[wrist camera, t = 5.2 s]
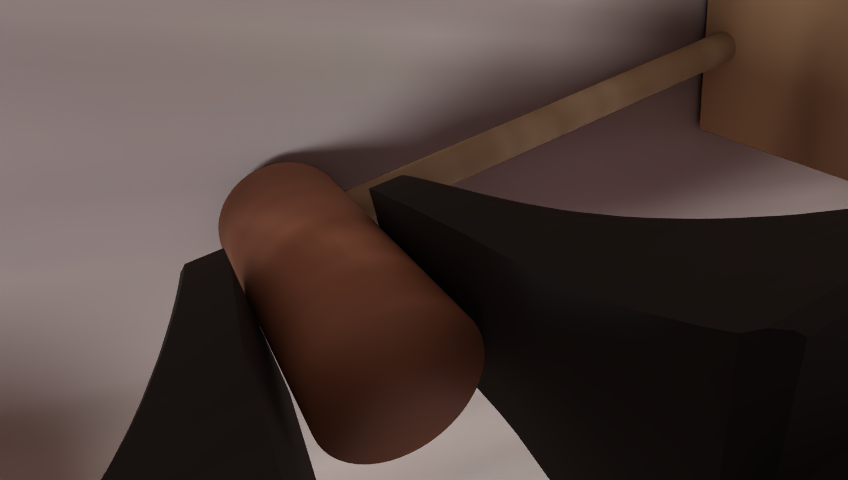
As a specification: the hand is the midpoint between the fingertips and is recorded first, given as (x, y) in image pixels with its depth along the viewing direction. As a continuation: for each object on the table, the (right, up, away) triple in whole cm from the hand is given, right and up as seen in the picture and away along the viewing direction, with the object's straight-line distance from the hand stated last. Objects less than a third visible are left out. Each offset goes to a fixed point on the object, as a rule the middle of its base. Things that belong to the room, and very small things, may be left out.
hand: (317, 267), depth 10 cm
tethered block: (+5, +4, +3) cm, 7 cm away
